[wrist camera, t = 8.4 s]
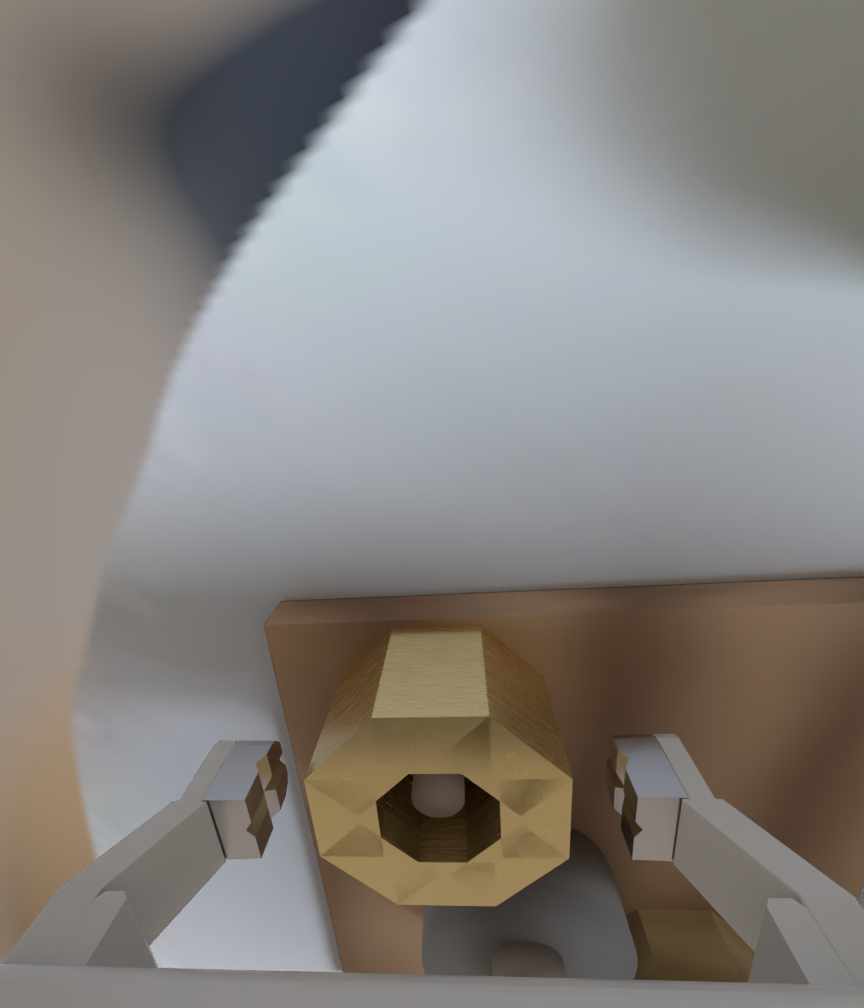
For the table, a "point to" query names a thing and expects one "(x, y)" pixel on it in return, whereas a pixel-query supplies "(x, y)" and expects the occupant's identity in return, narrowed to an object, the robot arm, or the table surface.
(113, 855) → the robot arm
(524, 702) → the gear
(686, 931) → the plate
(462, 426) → the table surface
